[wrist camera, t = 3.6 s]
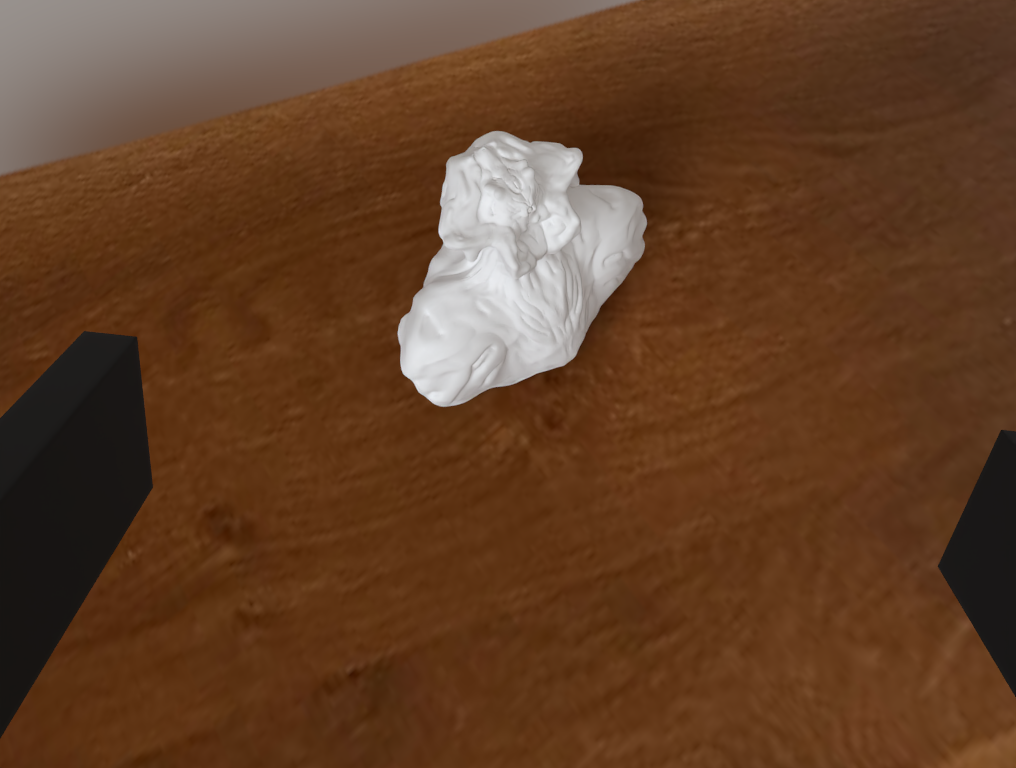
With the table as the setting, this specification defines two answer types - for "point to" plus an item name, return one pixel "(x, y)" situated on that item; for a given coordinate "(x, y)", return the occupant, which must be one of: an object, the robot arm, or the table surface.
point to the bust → (515, 267)
